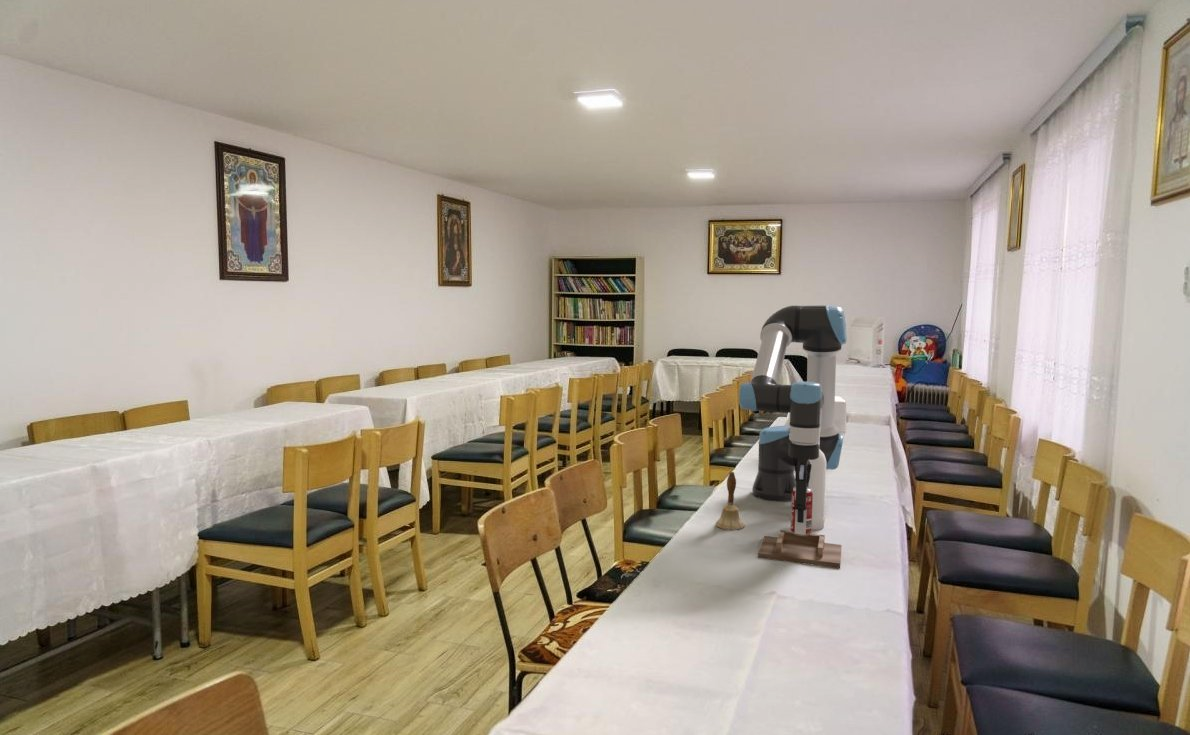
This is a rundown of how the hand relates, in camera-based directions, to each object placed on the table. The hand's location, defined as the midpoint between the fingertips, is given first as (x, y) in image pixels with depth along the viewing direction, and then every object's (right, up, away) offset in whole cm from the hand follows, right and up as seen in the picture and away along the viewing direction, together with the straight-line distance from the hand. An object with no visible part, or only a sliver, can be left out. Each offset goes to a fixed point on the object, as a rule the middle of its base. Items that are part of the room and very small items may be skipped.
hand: (800, 530), depth 182 cm
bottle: (+9, -4, +23) cm, 25 cm away
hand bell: (-14, -4, +23) cm, 27 cm away
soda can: (0, -1, 0) cm, 1 cm away
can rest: (0, -6, +1) cm, 6 cm away
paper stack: (+36, +4, +108) cm, 114 cm away
